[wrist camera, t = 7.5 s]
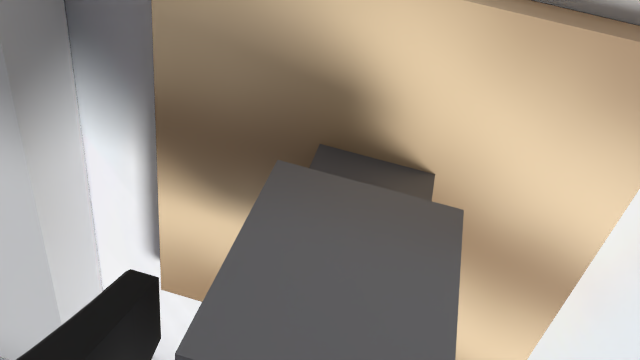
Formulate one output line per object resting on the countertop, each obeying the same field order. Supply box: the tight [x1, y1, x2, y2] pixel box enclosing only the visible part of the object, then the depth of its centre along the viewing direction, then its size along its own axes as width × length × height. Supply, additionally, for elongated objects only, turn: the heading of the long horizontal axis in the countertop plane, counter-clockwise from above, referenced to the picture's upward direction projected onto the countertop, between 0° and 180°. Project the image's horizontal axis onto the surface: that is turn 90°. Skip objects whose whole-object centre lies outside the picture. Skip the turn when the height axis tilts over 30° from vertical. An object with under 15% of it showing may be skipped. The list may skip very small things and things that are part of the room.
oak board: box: [151, 0, 640, 360], centre depth 16 cm, size 12×12×1 cm
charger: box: [175, 144, 464, 360], centre depth 12 cm, size 5×4×8 cm
